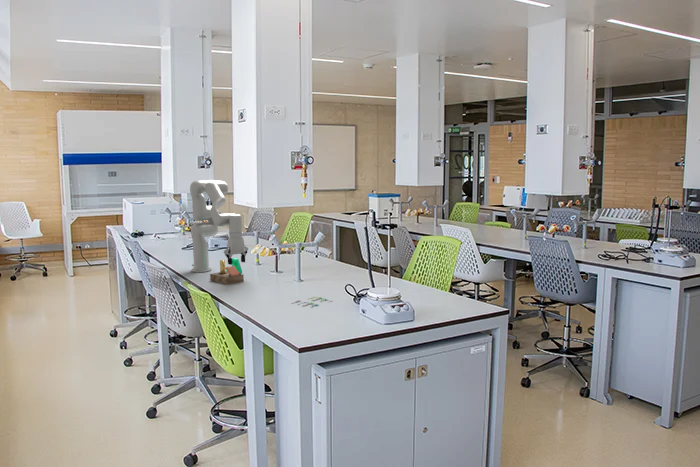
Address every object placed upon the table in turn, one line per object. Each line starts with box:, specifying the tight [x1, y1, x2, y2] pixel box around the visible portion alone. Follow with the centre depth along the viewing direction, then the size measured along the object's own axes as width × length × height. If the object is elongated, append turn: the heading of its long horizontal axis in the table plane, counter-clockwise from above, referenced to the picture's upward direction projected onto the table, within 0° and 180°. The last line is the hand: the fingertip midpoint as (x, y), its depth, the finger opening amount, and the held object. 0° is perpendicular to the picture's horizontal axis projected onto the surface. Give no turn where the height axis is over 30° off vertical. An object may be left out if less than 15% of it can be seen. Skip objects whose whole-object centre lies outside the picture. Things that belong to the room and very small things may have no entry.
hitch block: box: [209, 271, 245, 285], centre depth 342 cm, size 17×12×5 cm
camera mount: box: [225, 257, 243, 274], centre depth 362 cm, size 12×8×10 cm, turn 39°
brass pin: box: [219, 259, 226, 274], centre depth 345 cm, size 3×3×12 cm
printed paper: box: [275, 296, 334, 308], centre depth 290 cm, size 30×30×2 cm
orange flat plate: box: [225, 265, 240, 276], centre depth 338 cm, size 7×6×1 cm
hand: (236, 263), depth 342 cm, fingers open, 9 cm apart
